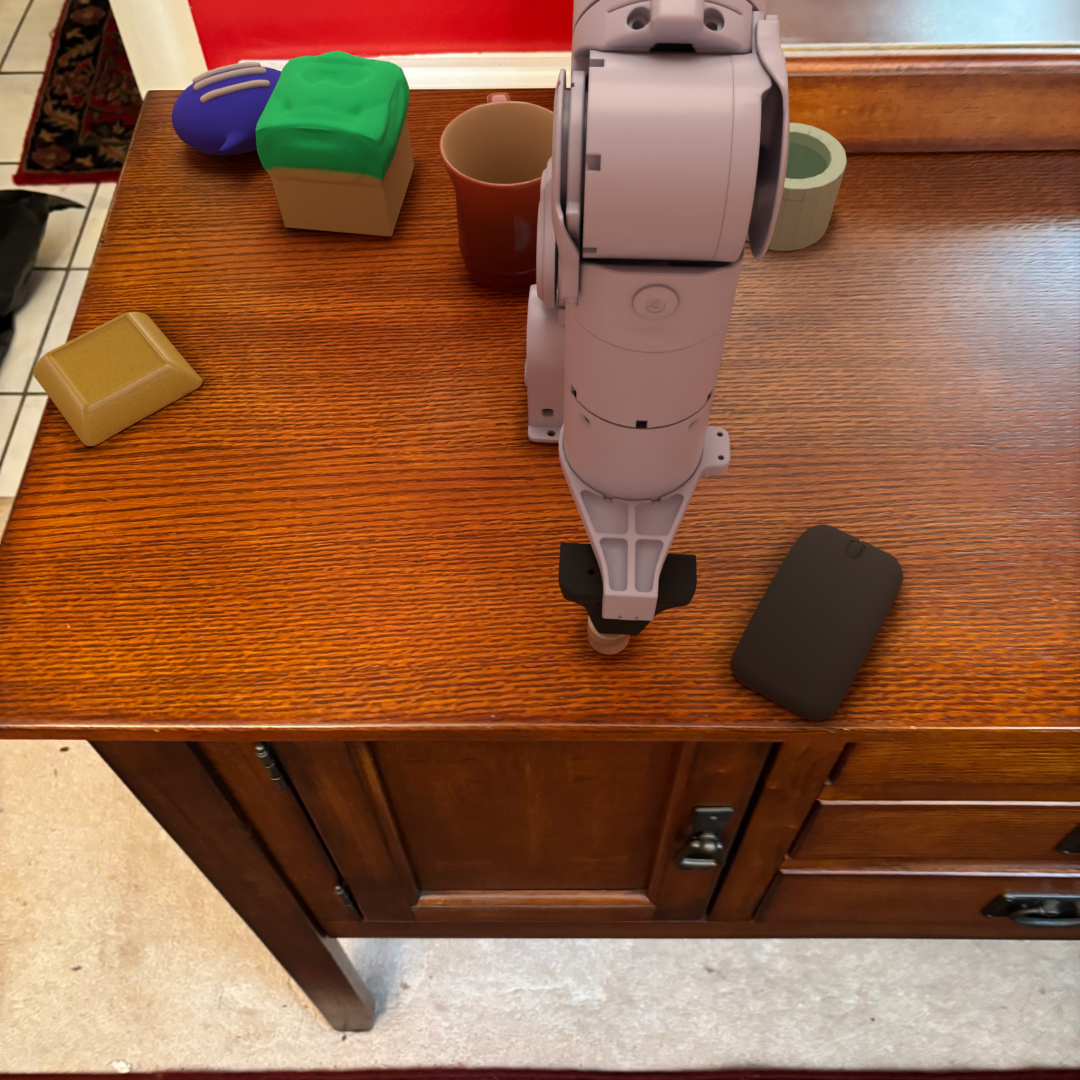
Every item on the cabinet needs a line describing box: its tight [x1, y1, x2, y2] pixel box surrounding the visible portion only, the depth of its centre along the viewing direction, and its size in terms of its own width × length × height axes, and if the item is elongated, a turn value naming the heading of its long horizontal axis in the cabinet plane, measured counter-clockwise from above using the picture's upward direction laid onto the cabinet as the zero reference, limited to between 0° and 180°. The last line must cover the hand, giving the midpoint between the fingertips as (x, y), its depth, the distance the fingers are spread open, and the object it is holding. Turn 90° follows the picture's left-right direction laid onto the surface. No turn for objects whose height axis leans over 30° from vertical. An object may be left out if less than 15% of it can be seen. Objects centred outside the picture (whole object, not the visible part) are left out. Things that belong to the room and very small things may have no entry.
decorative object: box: [171, 61, 282, 156], centre depth 76 cm, size 10×6×10 cm
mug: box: [438, 91, 554, 294], centre depth 68 cm, size 12×9×10 cm
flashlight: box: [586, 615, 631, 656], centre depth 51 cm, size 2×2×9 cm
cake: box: [256, 50, 415, 238], centre depth 71 cm, size 10×11×10 cm
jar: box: [745, 122, 848, 252], centre depth 71 cm, size 7×7×6 cm
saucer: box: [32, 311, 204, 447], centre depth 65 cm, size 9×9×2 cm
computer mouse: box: [730, 524, 904, 722], centre depth 54 cm, size 6×11×4 cm, turn 148°
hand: (619, 558), depth 48 cm, fingers open, 7 cm apart
